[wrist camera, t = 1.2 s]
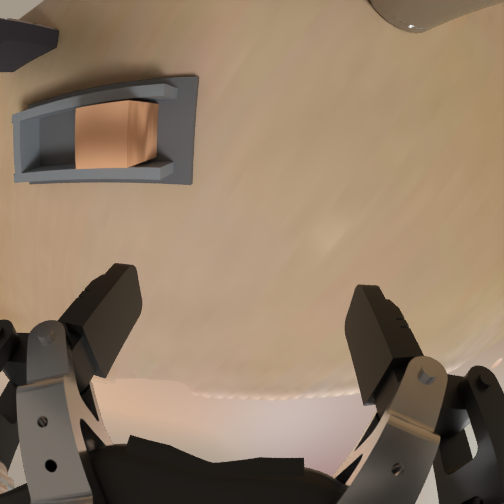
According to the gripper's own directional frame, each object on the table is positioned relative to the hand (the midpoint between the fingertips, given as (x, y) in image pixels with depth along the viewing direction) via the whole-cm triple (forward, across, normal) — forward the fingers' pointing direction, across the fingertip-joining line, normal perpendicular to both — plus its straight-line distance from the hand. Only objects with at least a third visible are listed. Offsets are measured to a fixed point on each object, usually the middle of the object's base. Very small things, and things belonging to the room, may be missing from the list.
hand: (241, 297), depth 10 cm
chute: (+22, +20, -5) cm, 30 cm away
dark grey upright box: (+22, +34, -20) cm, 45 cm away
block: (+21, +14, -5) cm, 26 cm away
